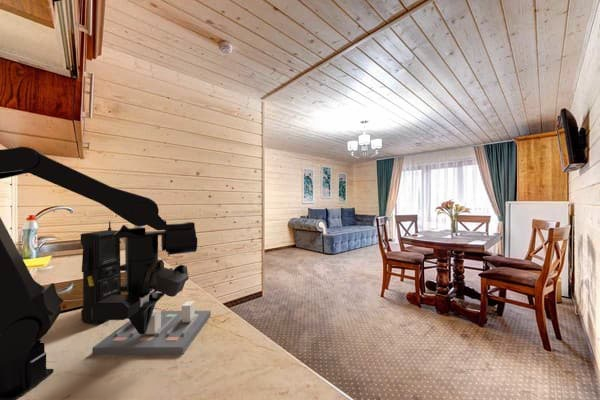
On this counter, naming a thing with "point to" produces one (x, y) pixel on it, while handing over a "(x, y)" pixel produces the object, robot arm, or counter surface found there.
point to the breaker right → (188, 311)
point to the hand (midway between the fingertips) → (142, 333)
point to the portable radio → (99, 270)
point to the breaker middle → (154, 323)
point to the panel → (154, 337)
